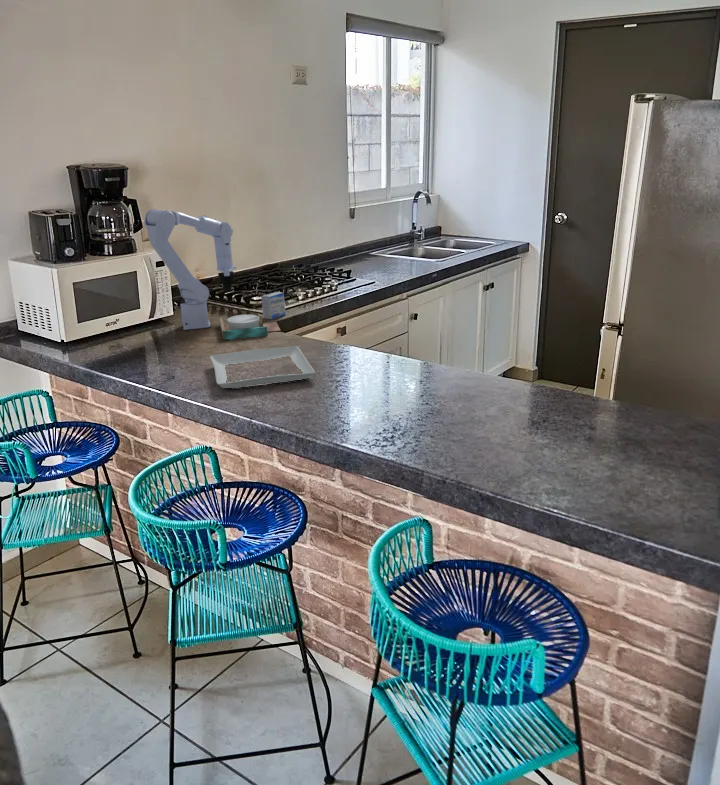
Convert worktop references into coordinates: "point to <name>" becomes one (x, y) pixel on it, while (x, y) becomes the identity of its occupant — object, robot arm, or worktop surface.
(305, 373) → the square plate
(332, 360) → the worktop surface
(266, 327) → the lane
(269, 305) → the medicine box
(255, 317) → the ramekin
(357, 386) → the worktop surface
